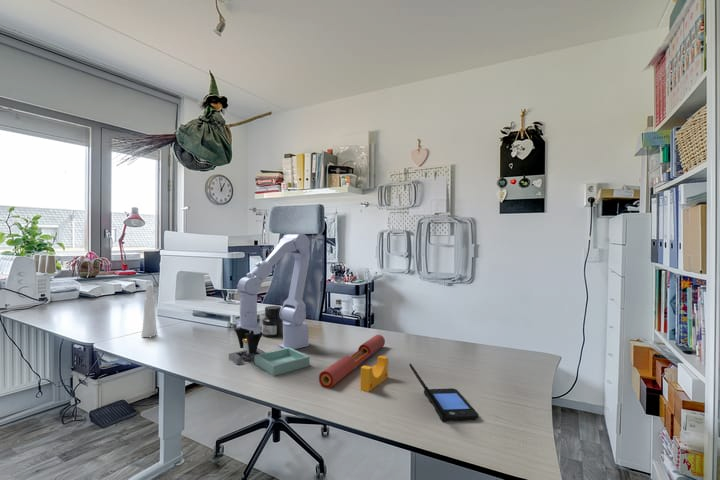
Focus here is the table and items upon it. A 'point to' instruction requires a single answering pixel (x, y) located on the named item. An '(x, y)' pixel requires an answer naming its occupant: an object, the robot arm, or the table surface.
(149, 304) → the cosmetic bottle
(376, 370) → the pipe clamp
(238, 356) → the bracket
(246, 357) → the glass jar
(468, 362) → the table surface
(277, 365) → the tray
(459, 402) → the black handheld device
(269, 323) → the ink bottle
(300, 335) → the robot arm
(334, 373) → the blood vessel
